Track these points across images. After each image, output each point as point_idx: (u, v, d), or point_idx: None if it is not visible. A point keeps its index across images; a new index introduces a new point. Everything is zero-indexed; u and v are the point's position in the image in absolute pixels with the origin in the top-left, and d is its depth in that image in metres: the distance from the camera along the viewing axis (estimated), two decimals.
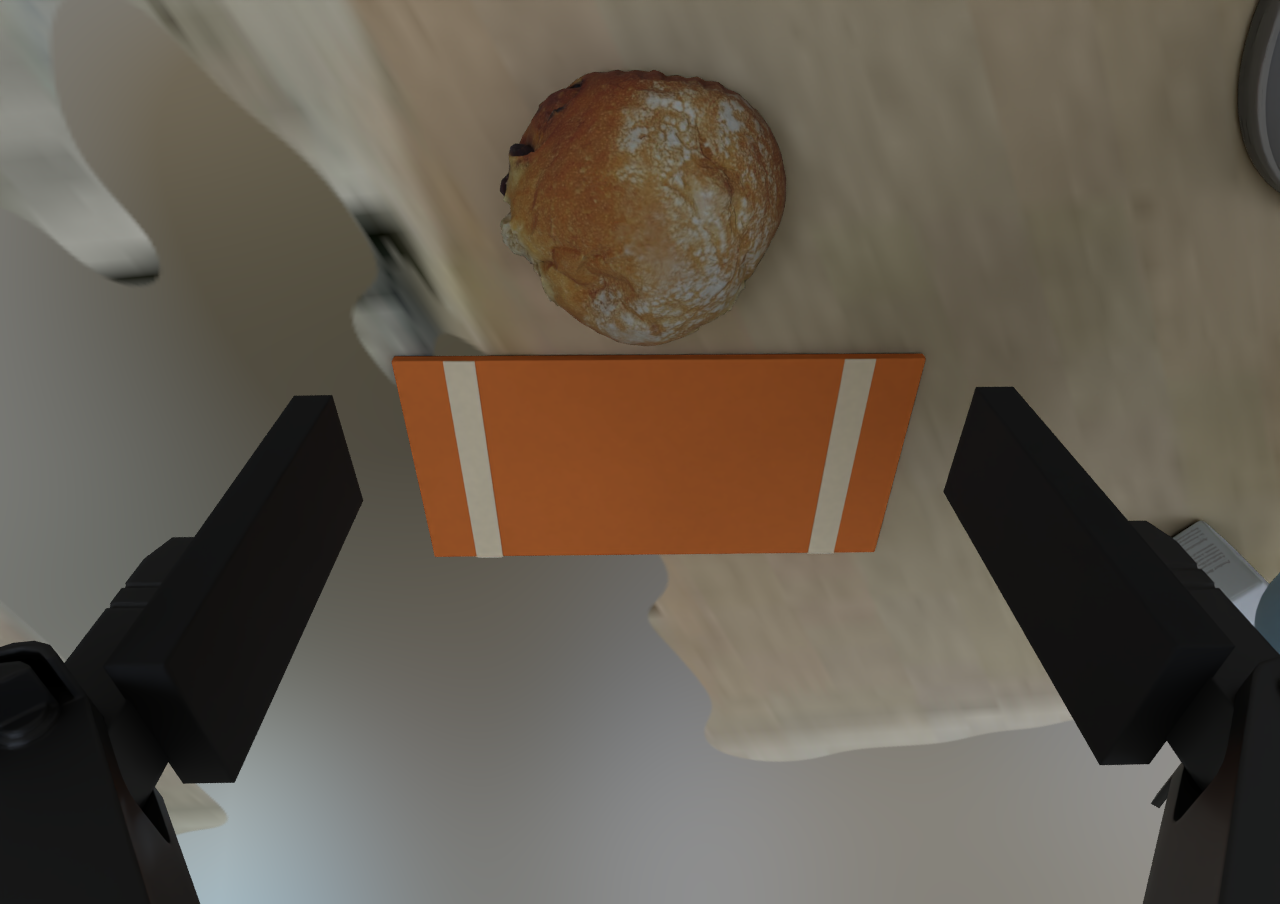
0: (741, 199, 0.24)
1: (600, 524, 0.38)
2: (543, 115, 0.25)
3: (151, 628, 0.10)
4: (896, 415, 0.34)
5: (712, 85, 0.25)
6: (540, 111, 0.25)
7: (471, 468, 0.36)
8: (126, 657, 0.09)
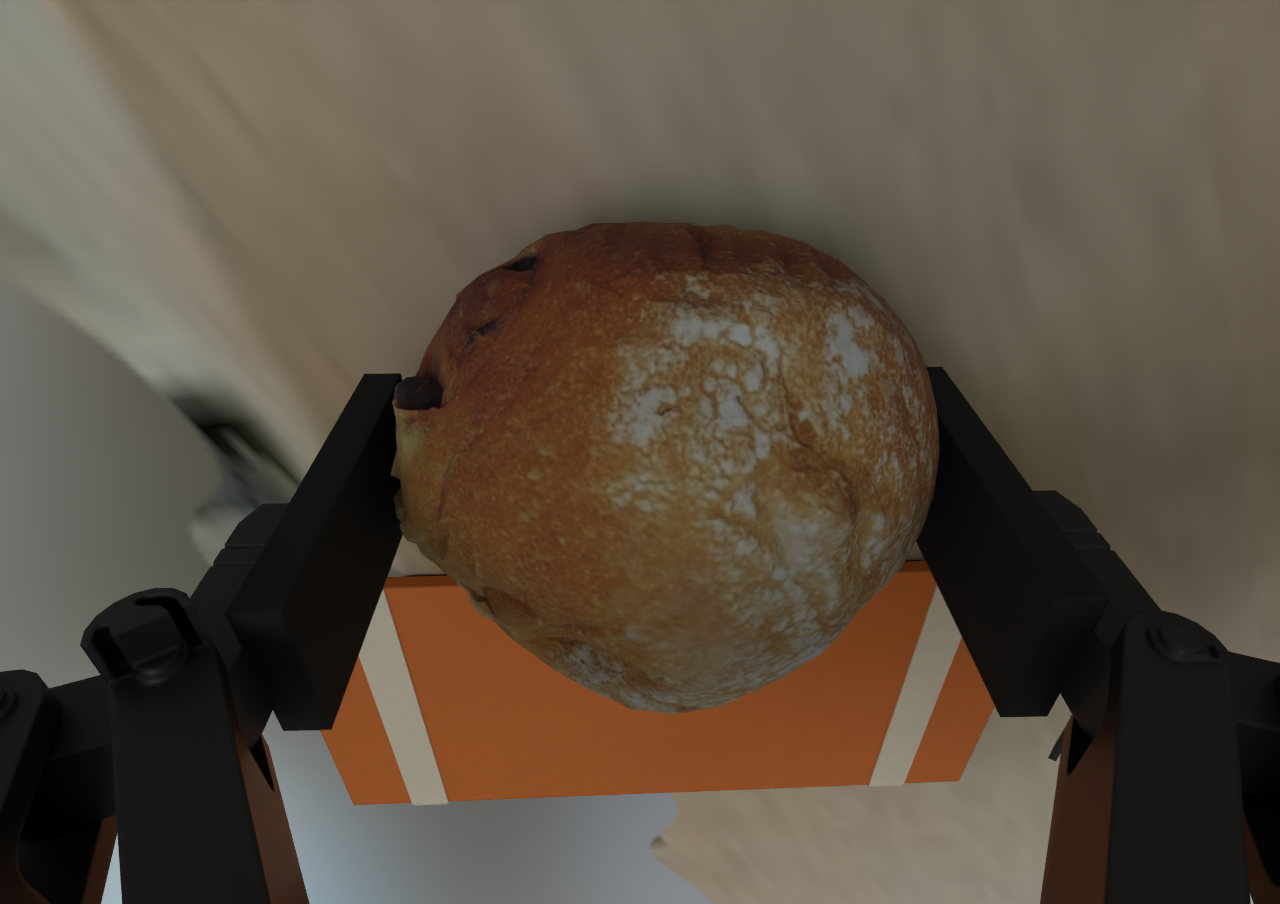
0: (873, 517, 0.11)
1: (582, 764, 0.27)
2: (459, 327, 0.12)
3: (264, 580, 0.10)
4: None
5: (803, 263, 0.12)
6: (455, 315, 0.12)
7: (393, 711, 0.25)
8: (245, 606, 0.10)
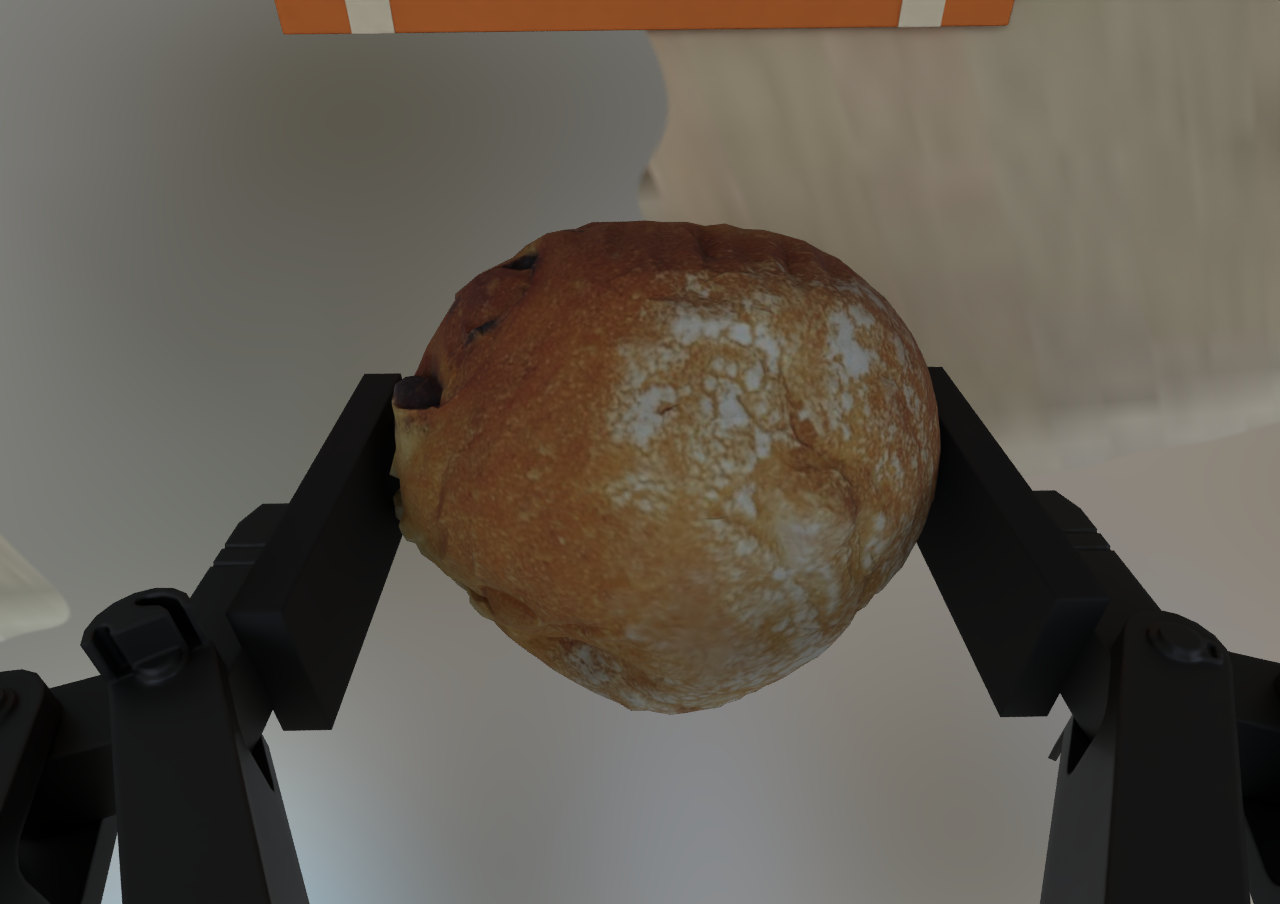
0: (874, 517, 0.11)
1: None
2: (458, 326, 0.12)
3: (265, 580, 0.10)
4: None
5: (803, 262, 0.12)
6: (454, 314, 0.12)
7: None
8: (245, 605, 0.10)
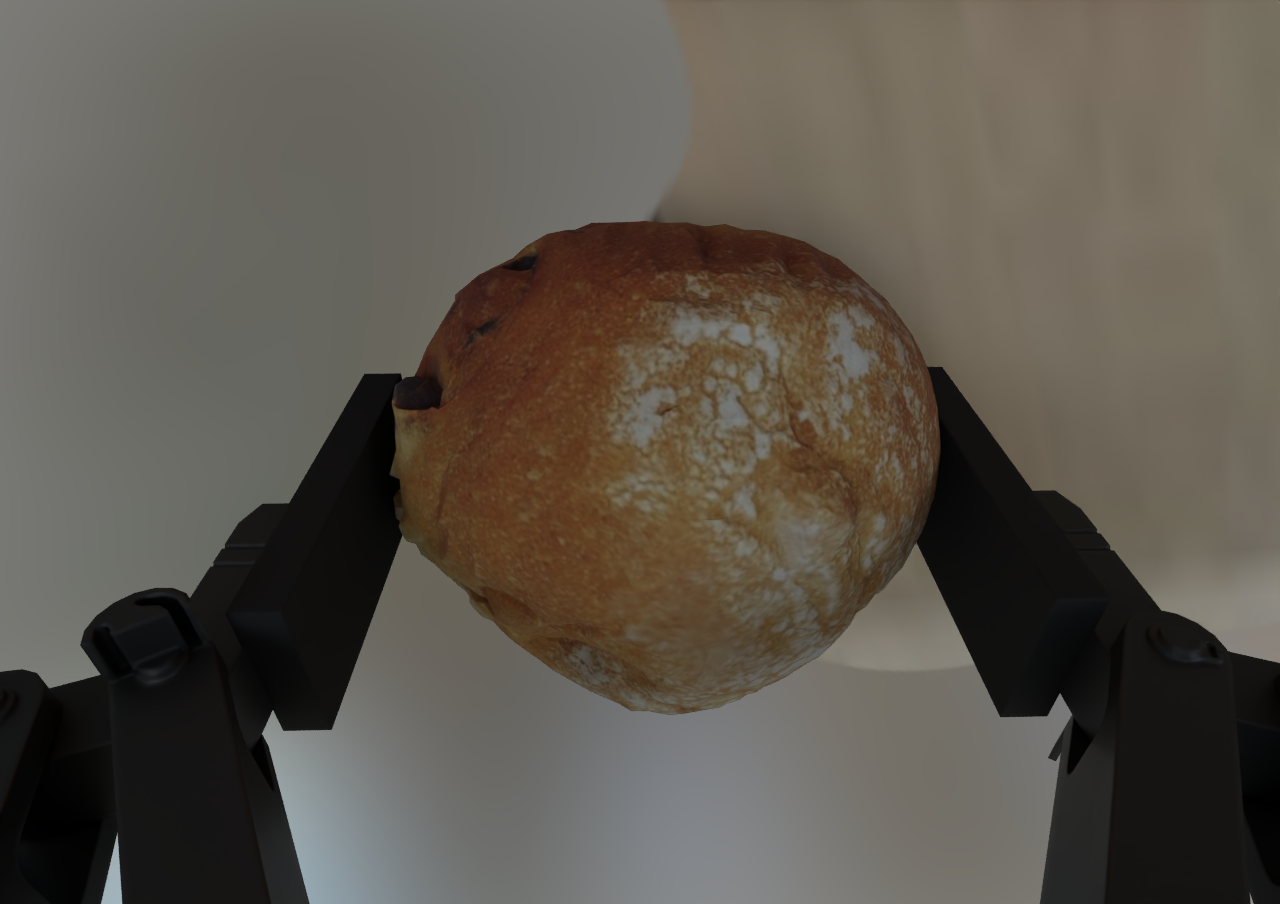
0: (873, 517, 0.11)
1: None
2: (458, 327, 0.12)
3: (264, 580, 0.10)
4: None
5: (803, 263, 0.12)
6: (454, 315, 0.12)
7: None
8: (245, 605, 0.10)
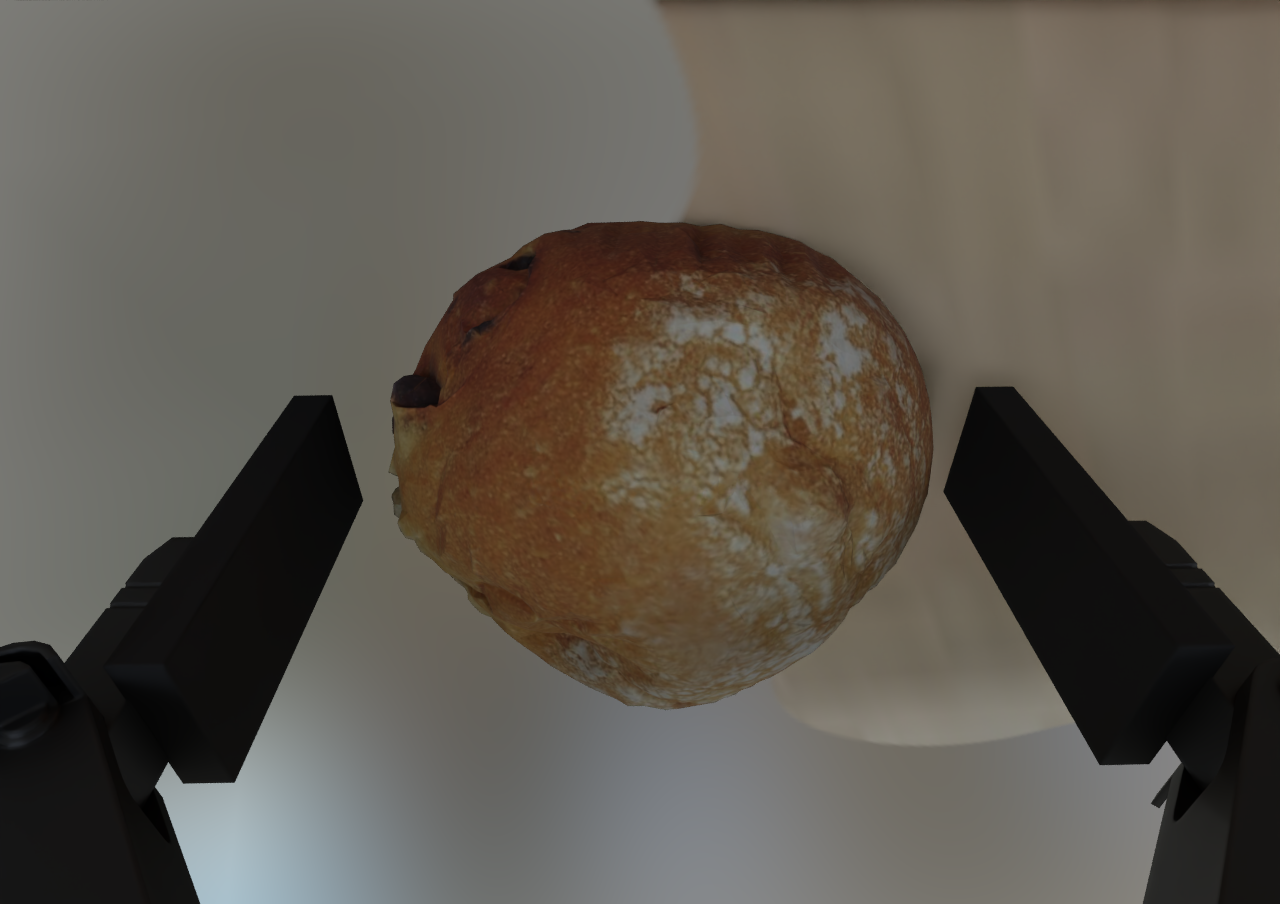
0: (866, 513, 0.11)
1: None
2: (456, 326, 0.12)
3: (151, 628, 0.10)
4: None
5: (797, 262, 0.12)
6: (452, 314, 0.12)
7: None
8: (126, 657, 0.09)
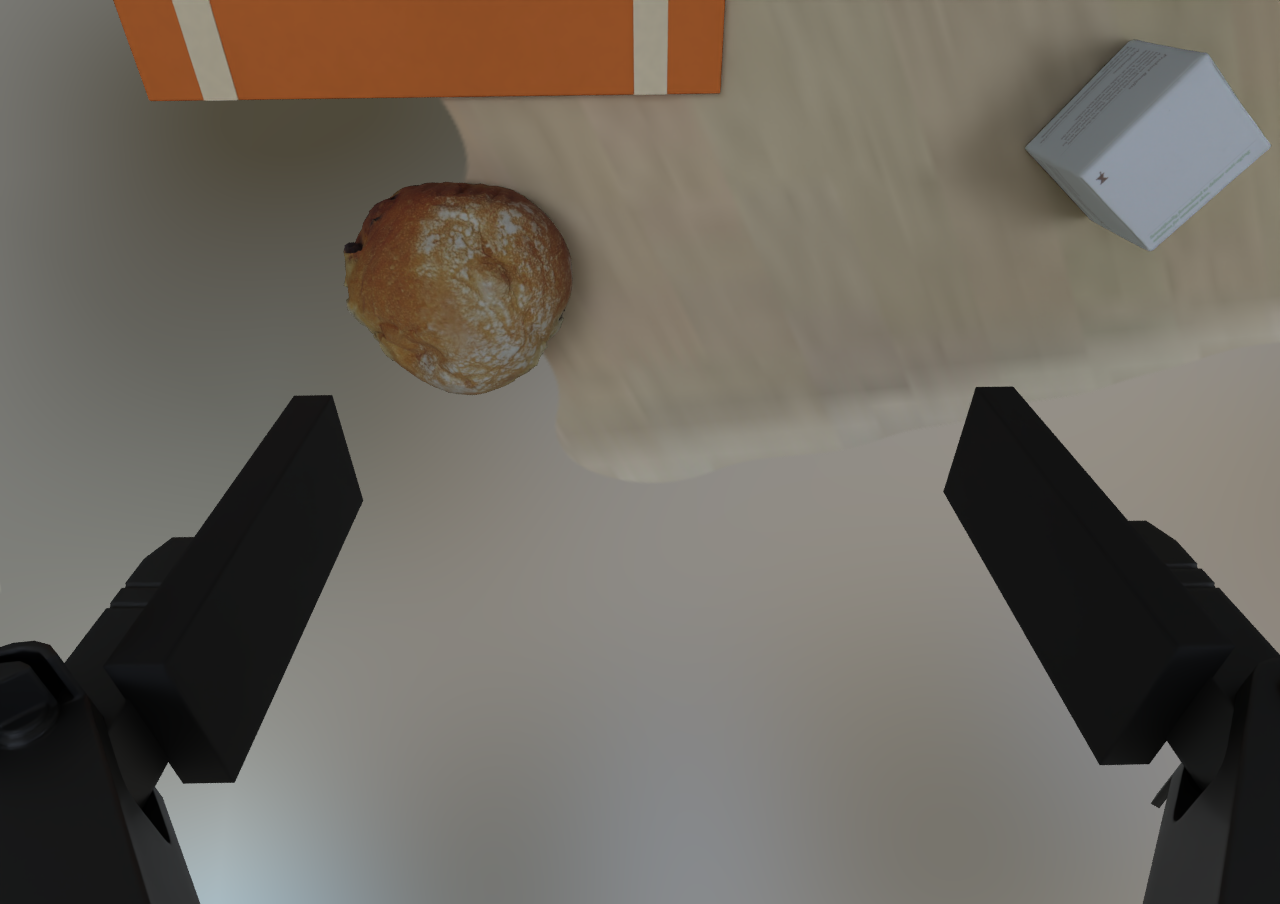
0: (518, 285, 0.31)
1: (355, 37, 0.29)
2: (368, 221, 0.32)
3: (151, 628, 0.10)
4: None
5: (500, 195, 0.32)
6: (367, 217, 0.32)
7: None
8: (126, 657, 0.09)
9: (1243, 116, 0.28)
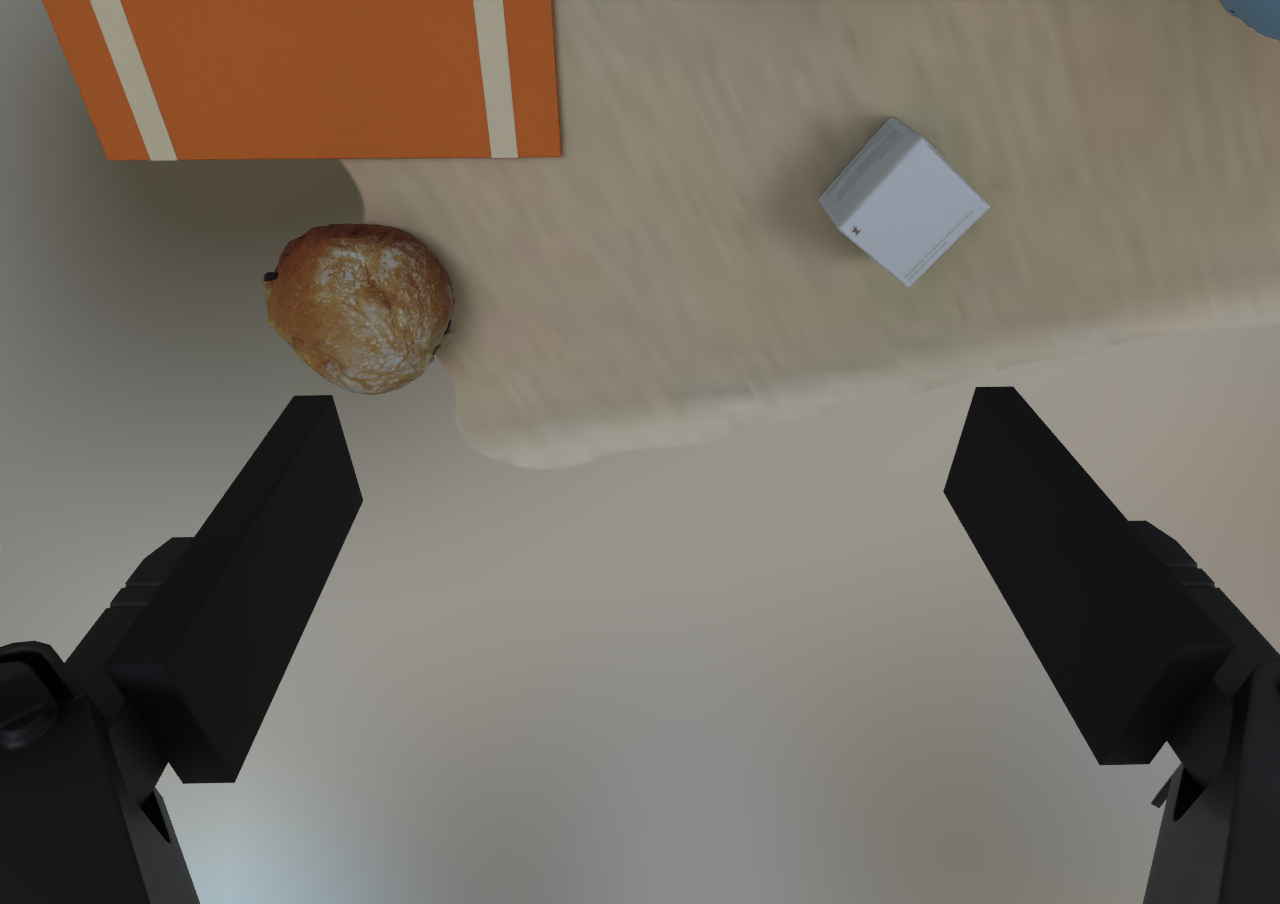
0: (398, 309, 0.39)
1: (266, 113, 0.37)
2: (282, 256, 0.40)
3: (151, 628, 0.10)
4: None
5: (387, 236, 0.40)
6: (282, 252, 0.40)
7: (112, 30, 0.35)
8: (126, 657, 0.09)
9: (961, 184, 0.36)
